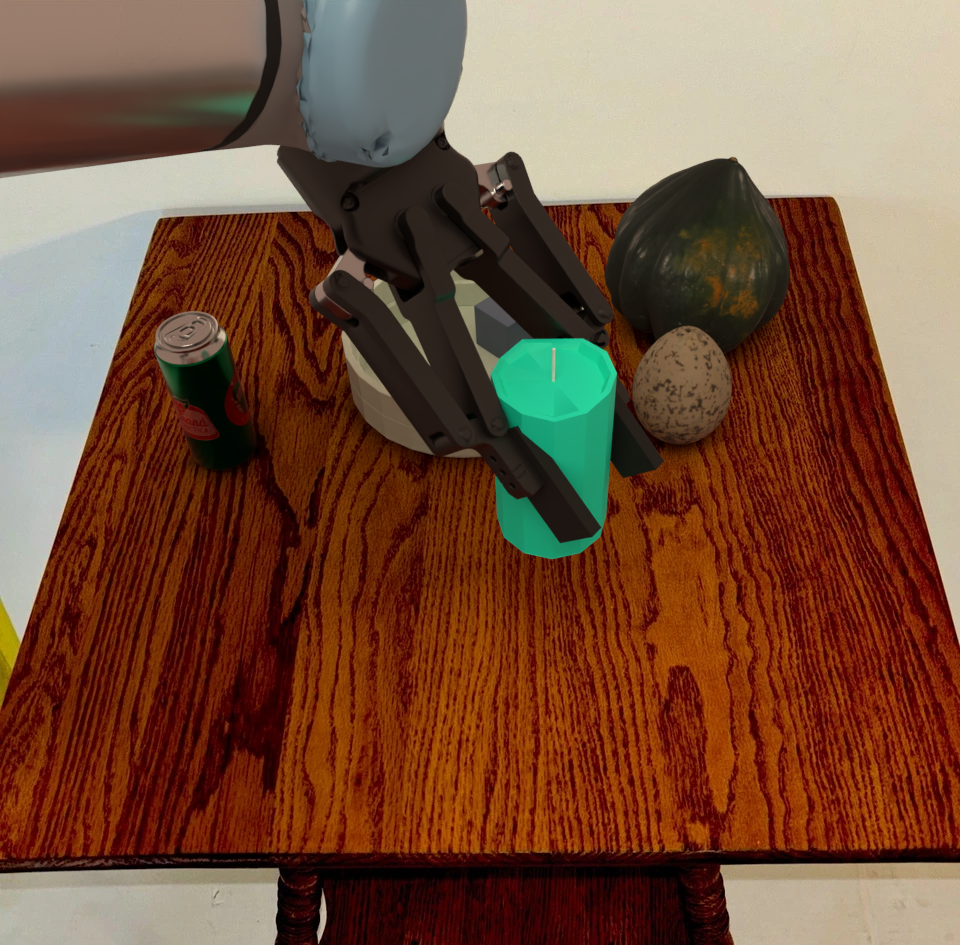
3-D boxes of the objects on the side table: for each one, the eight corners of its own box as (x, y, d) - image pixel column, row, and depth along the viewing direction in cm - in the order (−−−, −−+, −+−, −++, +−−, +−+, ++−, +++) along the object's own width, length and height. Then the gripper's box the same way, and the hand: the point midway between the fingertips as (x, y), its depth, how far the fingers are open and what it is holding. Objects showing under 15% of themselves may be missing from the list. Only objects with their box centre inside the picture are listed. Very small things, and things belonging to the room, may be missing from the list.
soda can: (180, 455, 80) (134, 335, 71) (229, 419, 83) (192, 298, 74) (222, 485, 78) (180, 364, 69) (272, 446, 80) (238, 325, 71)
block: (509, 365, 84) (507, 327, 82) (476, 343, 87) (473, 305, 84) (543, 342, 86) (543, 304, 83) (510, 321, 88) (509, 283, 85)
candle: (625, 500, 57) (640, 332, 49) (573, 575, 54) (580, 410, 45) (531, 461, 60) (530, 294, 51) (476, 531, 56) (464, 365, 48)
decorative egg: (636, 394, 82) (645, 293, 75) (728, 407, 81) (746, 304, 74) (622, 458, 78) (629, 356, 70) (718, 472, 76) (737, 370, 69)
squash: (584, 334, 79) (732, 193, 71) (565, 229, 90) (692, 97, 82) (709, 417, 86) (858, 297, 78) (678, 310, 96) (806, 195, 88)
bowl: (458, 501, 75) (453, 449, 71) (305, 377, 86) (293, 325, 82) (636, 376, 84) (640, 323, 80) (477, 276, 94) (474, 224, 90)
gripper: (425, 69, 56) (661, 418, 60) (161, 224, 47) (461, 621, 51) (498, -9, 49) (756, 388, 54) (209, 152, 40) (547, 613, 45)
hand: (612, 501), depth 52 cm, fingers closed on candle, 5 cm apart
